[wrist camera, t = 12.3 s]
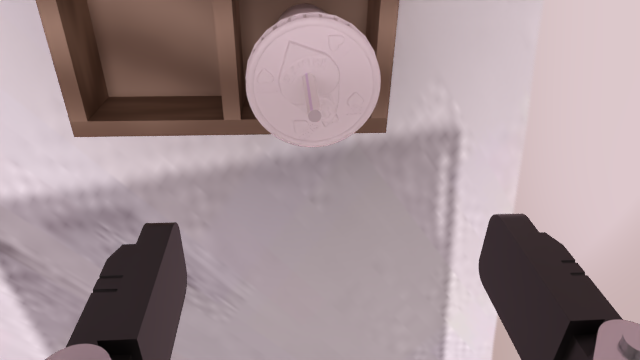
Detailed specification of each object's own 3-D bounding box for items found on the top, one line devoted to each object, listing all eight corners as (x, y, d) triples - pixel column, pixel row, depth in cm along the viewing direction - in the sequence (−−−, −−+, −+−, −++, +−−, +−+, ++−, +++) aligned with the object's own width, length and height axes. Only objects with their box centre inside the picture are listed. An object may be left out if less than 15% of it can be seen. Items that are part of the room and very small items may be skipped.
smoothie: (328, -40, 28) (365, 11, 16) (369, 56, 31) (425, 158, 19) (234, 10, 29) (203, 93, 17) (283, 97, 32) (286, 219, 20)
